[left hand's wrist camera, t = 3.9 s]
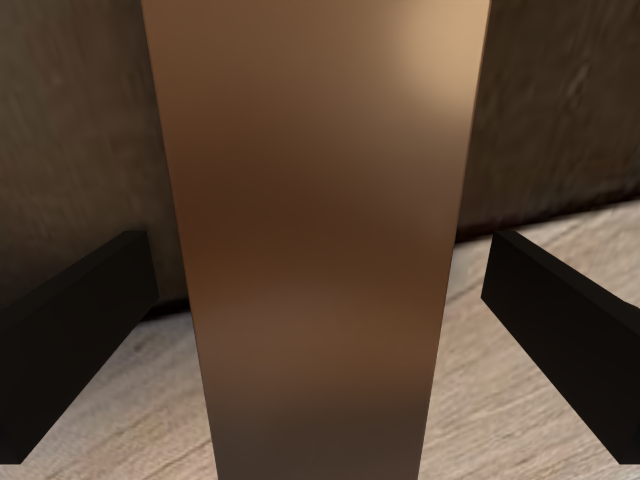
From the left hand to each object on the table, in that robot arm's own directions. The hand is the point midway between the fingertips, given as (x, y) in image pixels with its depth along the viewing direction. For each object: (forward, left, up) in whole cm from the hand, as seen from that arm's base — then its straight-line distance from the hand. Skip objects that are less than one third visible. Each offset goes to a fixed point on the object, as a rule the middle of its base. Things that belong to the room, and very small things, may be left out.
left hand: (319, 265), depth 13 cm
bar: (+8, +2, -2) cm, 9 cm away
